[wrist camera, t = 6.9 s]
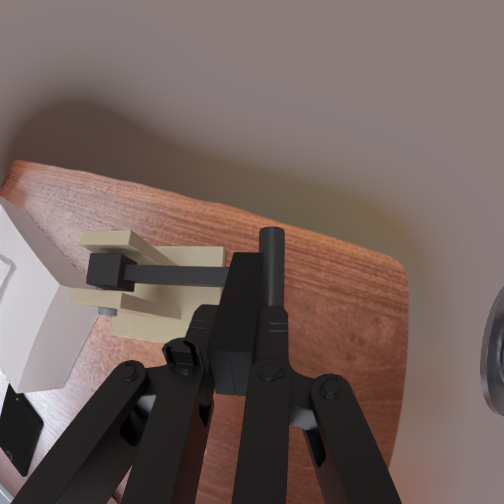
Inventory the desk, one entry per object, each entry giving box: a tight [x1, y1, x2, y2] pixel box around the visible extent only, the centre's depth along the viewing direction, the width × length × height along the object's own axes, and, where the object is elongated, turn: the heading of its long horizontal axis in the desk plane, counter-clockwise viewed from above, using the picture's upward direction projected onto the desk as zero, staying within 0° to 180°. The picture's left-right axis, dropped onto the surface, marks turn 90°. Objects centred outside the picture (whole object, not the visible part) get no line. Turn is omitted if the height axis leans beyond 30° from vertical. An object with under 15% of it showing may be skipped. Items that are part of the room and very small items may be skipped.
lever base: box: [70, 229, 226, 343], centre depth 22 cm, size 12×10×13 cm
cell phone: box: [0, 383, 43, 477], centre depth 23 cm, size 9×18×1 cm, turn 147°
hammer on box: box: [0, 196, 100, 393], centre depth 25 cm, size 14×25×11 cm, turn 58°
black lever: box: [86, 227, 285, 307], centre depth 17 cm, size 13×6×2 cm, turn 88°
